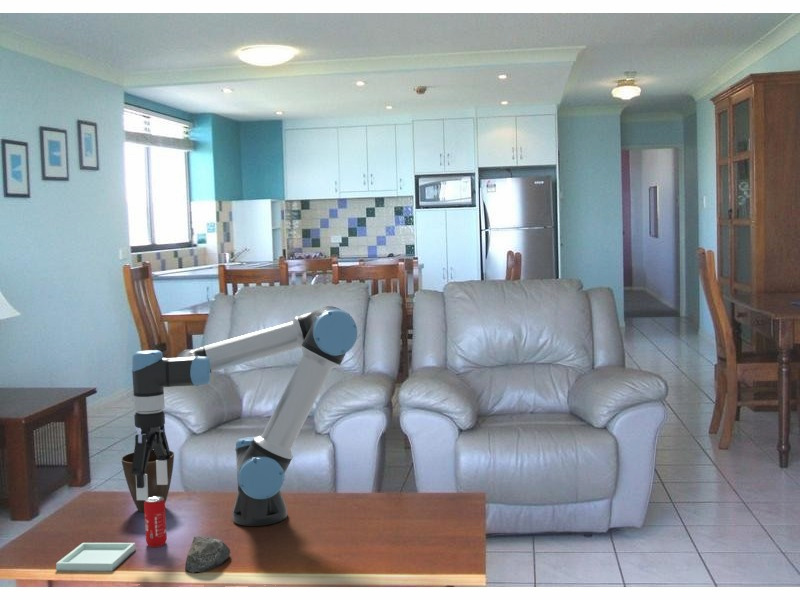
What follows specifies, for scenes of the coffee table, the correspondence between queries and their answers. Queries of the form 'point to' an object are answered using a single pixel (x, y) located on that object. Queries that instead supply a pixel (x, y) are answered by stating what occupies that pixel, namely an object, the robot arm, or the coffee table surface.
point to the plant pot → (151, 478)
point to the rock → (206, 554)
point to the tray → (96, 557)
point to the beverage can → (155, 521)
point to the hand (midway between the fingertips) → (152, 492)
